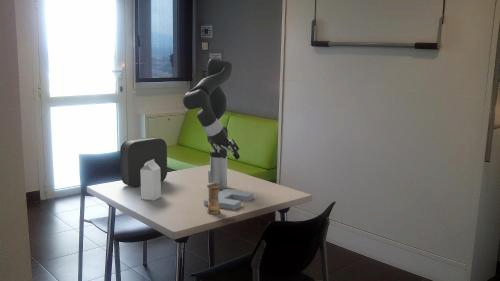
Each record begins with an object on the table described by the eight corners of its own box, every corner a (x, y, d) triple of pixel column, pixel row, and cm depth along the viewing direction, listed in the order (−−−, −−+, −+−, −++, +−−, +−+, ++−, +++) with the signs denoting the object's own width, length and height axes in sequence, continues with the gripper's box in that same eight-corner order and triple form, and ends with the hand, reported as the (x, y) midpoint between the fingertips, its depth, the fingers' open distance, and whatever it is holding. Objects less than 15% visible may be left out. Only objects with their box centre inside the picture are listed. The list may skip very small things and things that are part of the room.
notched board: (204, 205, 227) (204, 200, 227) (225, 193, 247) (225, 188, 246) (234, 210, 221) (234, 204, 220) (253, 197, 240) (253, 192, 240)
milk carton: (161, 197, 239) (160, 159, 236) (153, 201, 233) (152, 162, 230) (148, 195, 242) (147, 158, 238) (141, 199, 235) (140, 161, 232)
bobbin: (205, 213, 216) (204, 185, 214) (211, 209, 221) (211, 182, 219) (215, 214, 214) (215, 186, 211) (221, 211, 219) (221, 183, 216)
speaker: (128, 189, 252) (127, 142, 248) (119, 186, 258) (118, 140, 254) (167, 181, 270) (166, 137, 266) (158, 178, 276) (157, 135, 272)
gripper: (230, 124, 204) (247, 153, 212) (209, 124, 214) (225, 151, 222) (220, 136, 200) (237, 164, 208) (198, 135, 210) (216, 162, 218)
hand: (231, 157), depth 215 cm, fingers open, 8 cm apart
